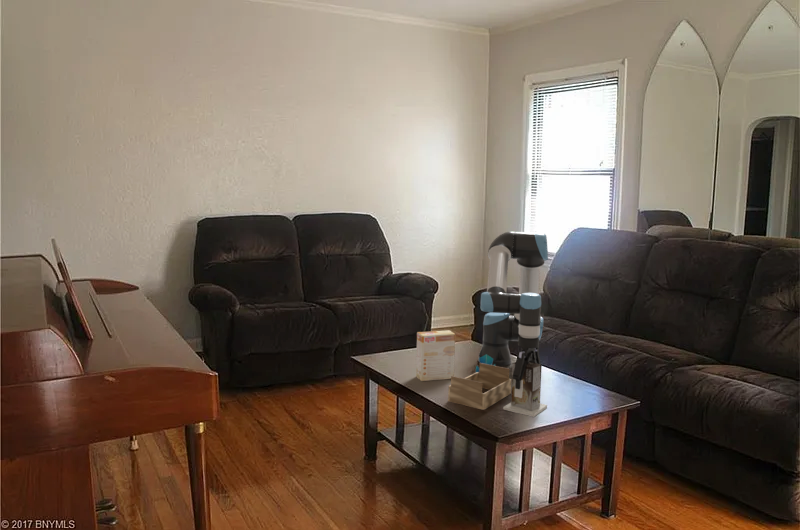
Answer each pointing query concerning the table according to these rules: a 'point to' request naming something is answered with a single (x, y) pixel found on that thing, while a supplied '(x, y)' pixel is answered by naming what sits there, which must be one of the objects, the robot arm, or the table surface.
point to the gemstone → (485, 361)
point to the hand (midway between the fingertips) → (526, 392)
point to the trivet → (525, 411)
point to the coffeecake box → (435, 355)
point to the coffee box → (528, 387)
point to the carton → (471, 387)
